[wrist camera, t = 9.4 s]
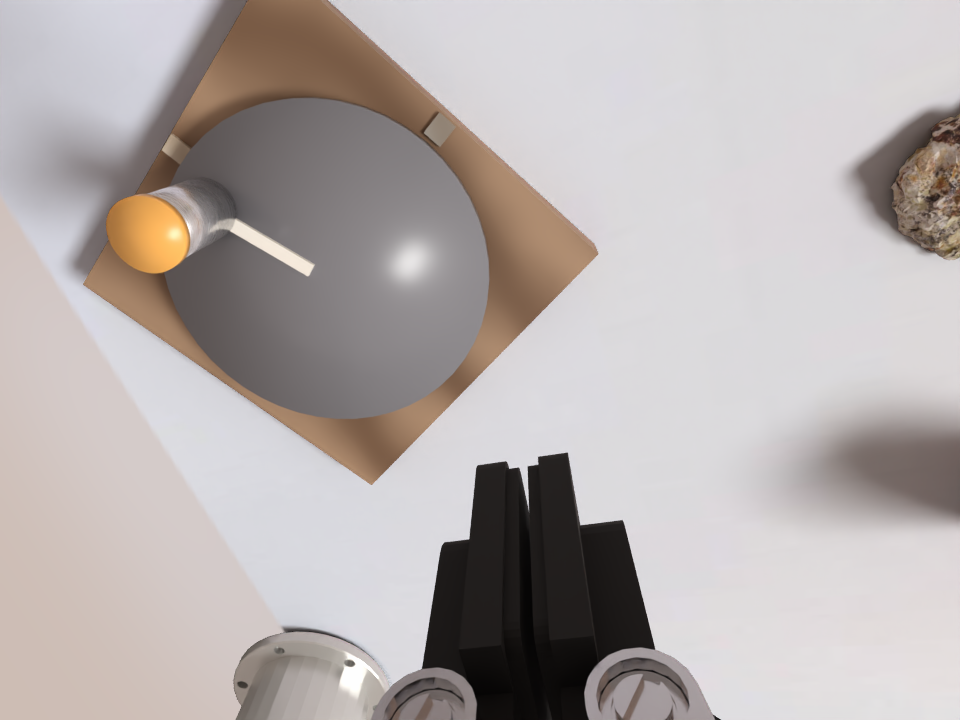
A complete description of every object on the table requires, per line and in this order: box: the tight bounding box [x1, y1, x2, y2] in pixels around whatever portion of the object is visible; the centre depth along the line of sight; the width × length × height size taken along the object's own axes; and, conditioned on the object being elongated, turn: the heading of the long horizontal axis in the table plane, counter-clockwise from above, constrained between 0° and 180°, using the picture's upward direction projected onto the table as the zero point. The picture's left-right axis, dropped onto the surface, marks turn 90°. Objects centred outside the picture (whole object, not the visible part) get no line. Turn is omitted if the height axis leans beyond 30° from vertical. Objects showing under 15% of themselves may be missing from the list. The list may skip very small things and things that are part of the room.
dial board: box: [83, 0, 598, 485], centre depth 33 cm, size 20×20×2 cm
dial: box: [106, 97, 490, 419], centre depth 29 cm, size 17×17×7 cm
